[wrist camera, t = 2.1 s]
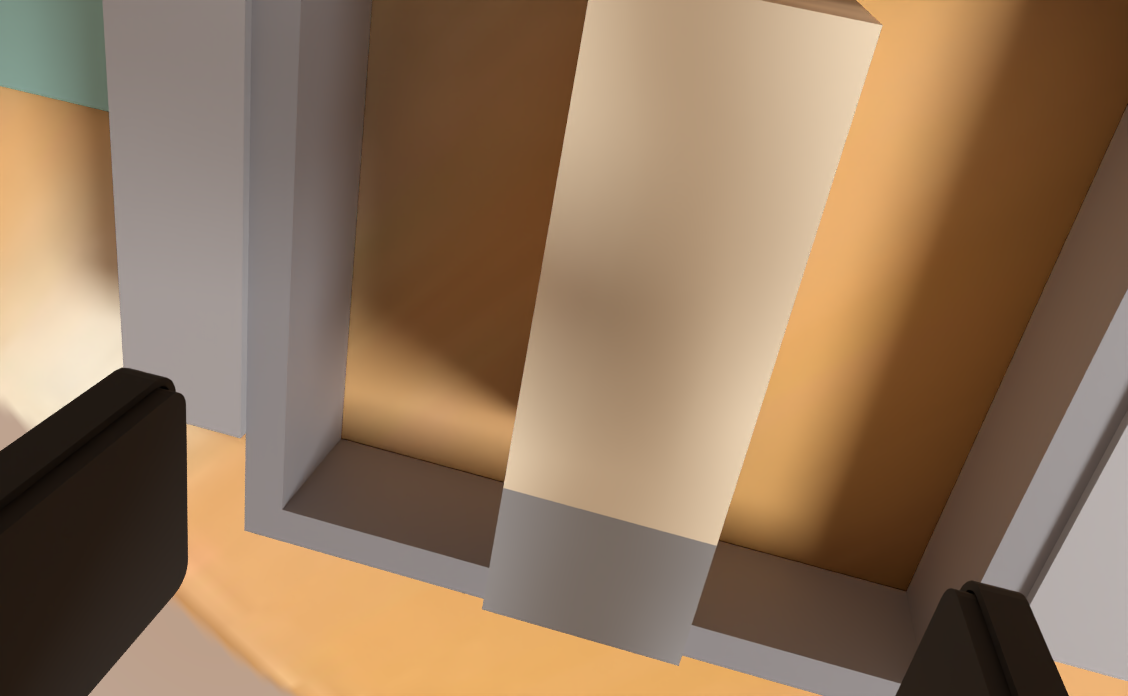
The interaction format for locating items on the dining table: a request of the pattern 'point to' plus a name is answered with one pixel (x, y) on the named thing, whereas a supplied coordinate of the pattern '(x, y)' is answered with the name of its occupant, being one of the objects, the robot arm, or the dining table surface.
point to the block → (666, 300)
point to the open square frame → (471, 503)
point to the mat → (55, 50)
